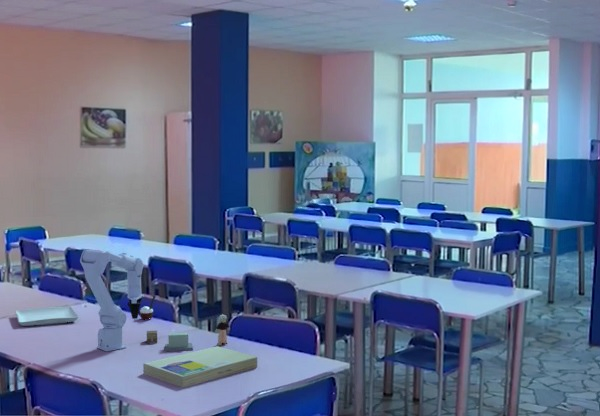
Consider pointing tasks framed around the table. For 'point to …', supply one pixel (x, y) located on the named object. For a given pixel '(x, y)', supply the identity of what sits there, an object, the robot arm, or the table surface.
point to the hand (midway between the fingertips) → (135, 316)
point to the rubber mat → (178, 347)
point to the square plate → (46, 316)
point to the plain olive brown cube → (151, 336)
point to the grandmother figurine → (222, 330)
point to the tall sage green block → (178, 339)
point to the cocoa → (147, 311)
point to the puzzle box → (199, 366)
